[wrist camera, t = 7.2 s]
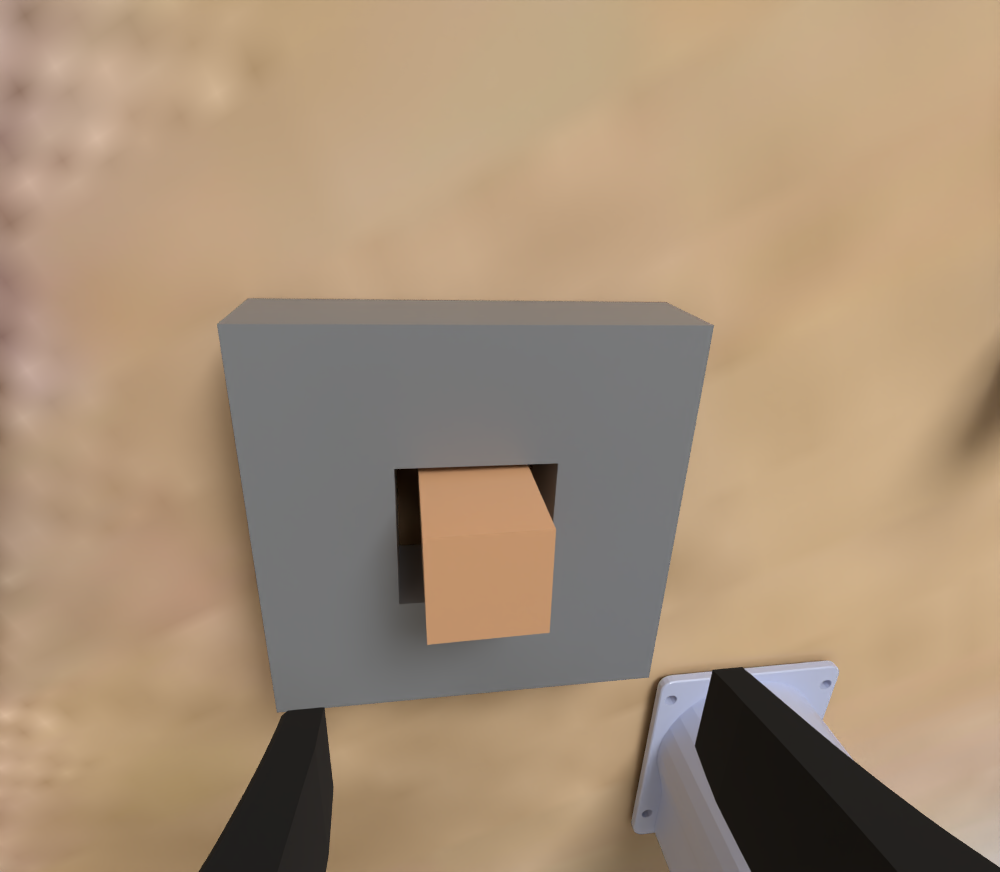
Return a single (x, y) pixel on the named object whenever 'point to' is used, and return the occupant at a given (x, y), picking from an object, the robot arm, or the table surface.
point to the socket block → (456, 443)
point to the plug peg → (485, 553)
